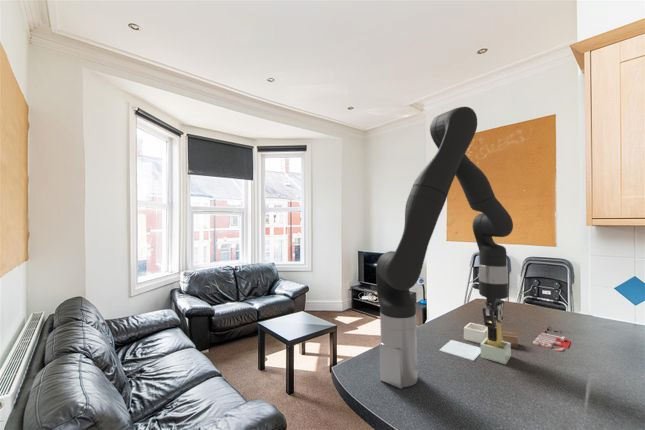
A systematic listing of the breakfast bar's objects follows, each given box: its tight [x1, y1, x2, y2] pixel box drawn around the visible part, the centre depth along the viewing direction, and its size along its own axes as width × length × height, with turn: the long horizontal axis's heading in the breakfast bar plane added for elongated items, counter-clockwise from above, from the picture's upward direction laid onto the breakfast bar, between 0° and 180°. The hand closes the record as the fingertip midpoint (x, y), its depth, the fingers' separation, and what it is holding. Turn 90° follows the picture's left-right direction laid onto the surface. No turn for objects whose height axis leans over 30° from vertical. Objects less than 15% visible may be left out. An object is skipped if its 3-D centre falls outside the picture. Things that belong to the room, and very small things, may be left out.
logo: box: [532, 325, 572, 352], centre depth 99 cm, size 25×2×10 cm
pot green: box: [479, 337, 512, 365], centre depth 86 cm, size 6×6×4 cm
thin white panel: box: [439, 339, 481, 362], centre depth 91 cm, size 10×10×1 cm
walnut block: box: [501, 330, 519, 349], centre depth 94 cm, size 4×4×4 cm
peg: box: [487, 321, 502, 349], centre depth 86 cm, size 4×4×9 cm
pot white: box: [463, 322, 487, 344], centre depth 99 cm, size 6×6×4 cm
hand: (494, 337), depth 87 cm, fingers closed on peg, 3 cm apart
